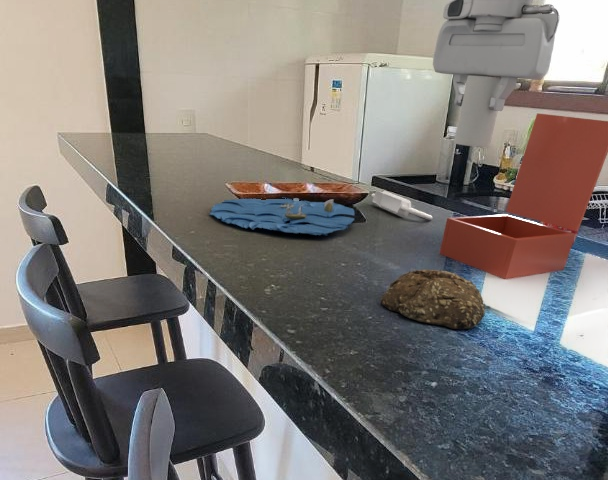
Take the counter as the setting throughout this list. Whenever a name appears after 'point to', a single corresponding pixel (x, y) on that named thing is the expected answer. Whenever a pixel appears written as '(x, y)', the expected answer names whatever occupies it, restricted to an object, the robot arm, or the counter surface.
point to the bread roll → (436, 299)
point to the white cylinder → (477, 112)
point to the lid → (559, 170)
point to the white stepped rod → (396, 204)
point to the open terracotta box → (506, 245)
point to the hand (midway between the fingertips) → (477, 108)
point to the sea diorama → (285, 215)
